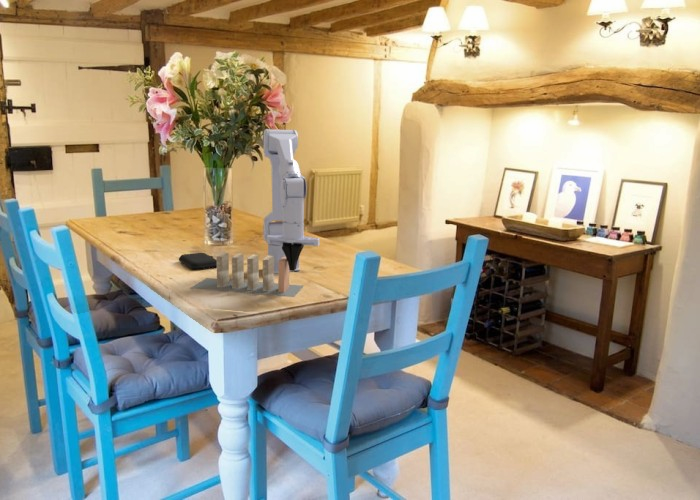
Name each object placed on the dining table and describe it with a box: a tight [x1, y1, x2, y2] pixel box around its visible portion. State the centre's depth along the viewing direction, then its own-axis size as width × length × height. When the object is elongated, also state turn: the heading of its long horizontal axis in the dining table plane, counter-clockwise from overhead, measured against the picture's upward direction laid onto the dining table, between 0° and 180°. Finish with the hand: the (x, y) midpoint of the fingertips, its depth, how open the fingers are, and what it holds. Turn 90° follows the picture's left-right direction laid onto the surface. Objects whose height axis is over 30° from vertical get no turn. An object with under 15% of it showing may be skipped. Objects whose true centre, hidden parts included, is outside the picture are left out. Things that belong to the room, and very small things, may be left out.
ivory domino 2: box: [231, 252, 245, 289], centre depth 165 cm, size 2×5×9 cm, turn 170°
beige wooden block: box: [215, 251, 230, 288], centre depth 166 cm, size 2×5×9 cm, turn 170°
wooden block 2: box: [262, 255, 275, 291], centre depth 164 cm, size 2×5×9 cm, turn 170°
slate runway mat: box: [190, 277, 304, 298], centre depth 166 cm, size 30×11×1 cm, turn 80°
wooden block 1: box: [246, 253, 260, 290], centre depth 165 cm, size 2×5×9 cm, turn 170°
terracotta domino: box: [277, 257, 290, 293], centre depth 163 cm, size 2×5×9 cm, turn 170°
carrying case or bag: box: [178, 252, 217, 271], centre depth 189 cm, size 11×3×15 cm
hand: (292, 269), depth 162 cm, fingers closed
